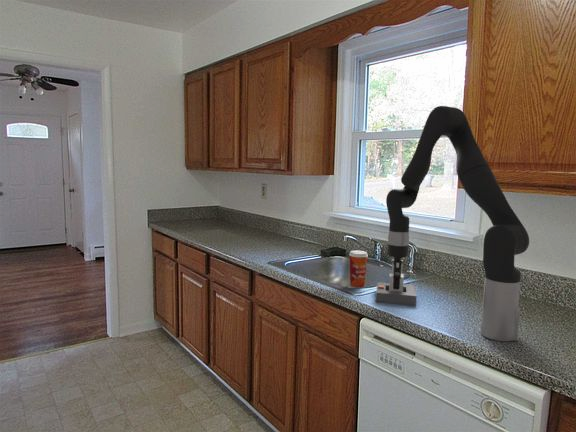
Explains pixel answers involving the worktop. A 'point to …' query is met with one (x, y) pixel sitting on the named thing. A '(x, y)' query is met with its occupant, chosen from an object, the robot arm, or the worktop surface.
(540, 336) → the worktop surface
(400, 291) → the plug
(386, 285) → the socket
